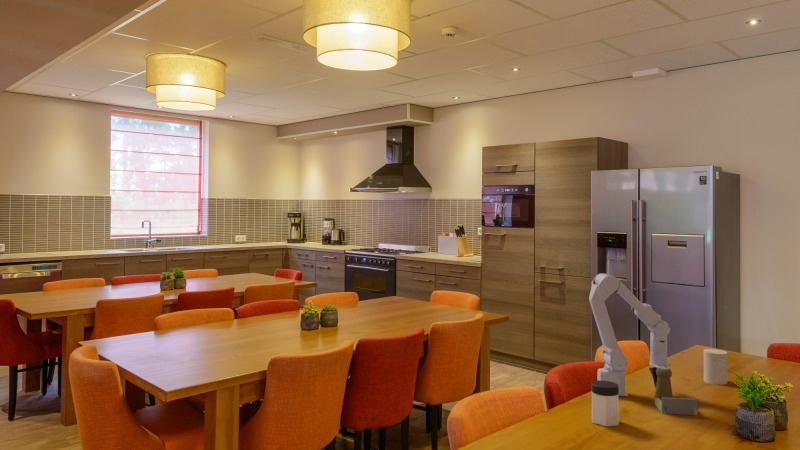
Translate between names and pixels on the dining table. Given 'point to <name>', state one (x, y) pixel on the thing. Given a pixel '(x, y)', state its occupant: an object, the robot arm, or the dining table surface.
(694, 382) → the dining table surface
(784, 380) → the dining table surface
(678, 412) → the grey rectangular box
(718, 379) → the white stone cylinder
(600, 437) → the dining table surface
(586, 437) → the dining table surface
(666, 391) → the cork
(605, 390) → the jar
